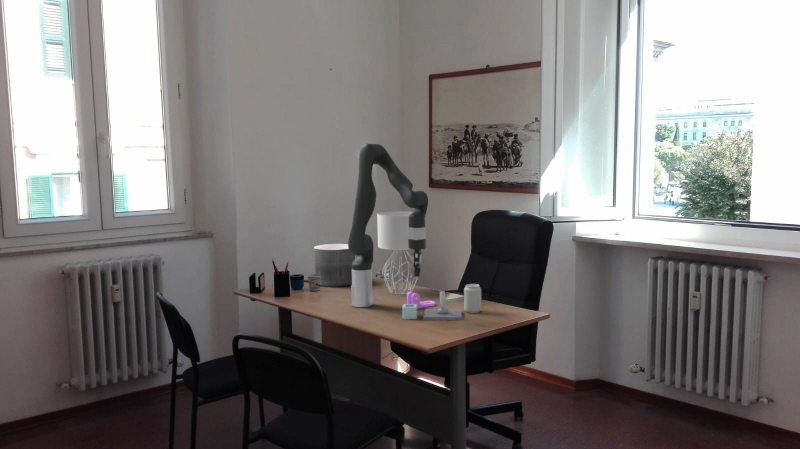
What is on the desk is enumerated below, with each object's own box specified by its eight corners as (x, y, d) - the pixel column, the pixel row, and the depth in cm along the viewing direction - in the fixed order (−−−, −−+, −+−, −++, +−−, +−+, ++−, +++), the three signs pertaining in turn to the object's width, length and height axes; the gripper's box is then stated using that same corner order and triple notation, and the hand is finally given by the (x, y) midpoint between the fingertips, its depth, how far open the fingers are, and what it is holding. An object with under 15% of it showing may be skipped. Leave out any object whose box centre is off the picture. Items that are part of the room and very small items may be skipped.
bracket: (412, 309, 297) (412, 294, 297) (407, 306, 302) (406, 291, 302) (437, 305, 303) (437, 290, 303) (431, 303, 308) (431, 288, 307)
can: (470, 314, 286) (470, 287, 284) (460, 310, 292) (460, 284, 291) (484, 312, 289) (484, 285, 288) (474, 308, 296) (474, 282, 294)
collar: (402, 318, 280) (402, 307, 279) (403, 315, 286) (403, 304, 285) (416, 319, 279) (416, 307, 279) (417, 315, 285) (417, 304, 285)
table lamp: (369, 292, 333) (368, 214, 328) (398, 285, 349) (397, 210, 345) (403, 298, 318) (401, 216, 314) (431, 290, 335) (430, 212, 330)
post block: (423, 319, 278) (422, 295, 277) (425, 311, 292) (424, 288, 291) (461, 320, 276) (460, 295, 275) (461, 311, 290) (461, 288, 289)
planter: (354, 286, 348) (353, 249, 345) (312, 287, 347) (311, 250, 345) (356, 278, 370) (355, 243, 367) (317, 279, 369) (316, 244, 367)
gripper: (409, 235, 289) (409, 271, 291) (407, 239, 275) (407, 278, 277) (426, 235, 289) (426, 271, 290) (425, 239, 275) (425, 277, 276)
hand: (417, 274), depth 284 cm, fingers open, 8 cm apart
